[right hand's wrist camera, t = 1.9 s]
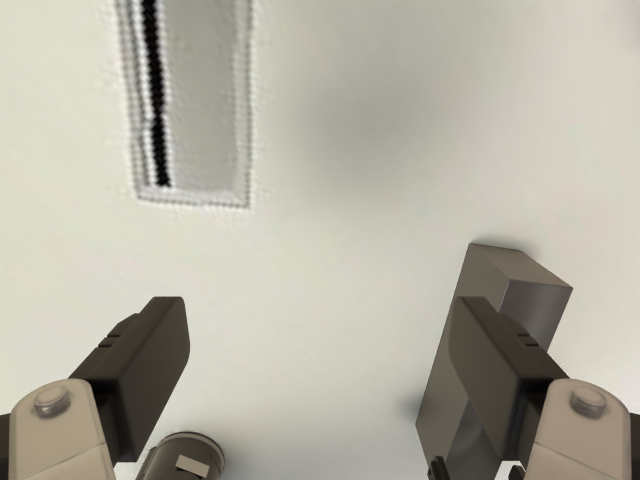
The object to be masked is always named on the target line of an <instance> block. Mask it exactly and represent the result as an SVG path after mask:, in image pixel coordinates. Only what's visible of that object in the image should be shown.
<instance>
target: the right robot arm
mask: <svg viewBox="0 0 640 480" xmlns="http://www.w3.org/2000/svg"><path fill="white" fill-rule="evenodd" d="M448 352H449V358H450V361H451V363H452V366H453V368H454V370H455V372H456V373H457V375H458V377H459V379H460V381H461V383H462V385H463V387H464V389H465V391H466V393H467V395H468V397H469V399H470V401H471V403H472V405H473V407H474V409H475V411H476V413H477V415H478V417H479V419H480V421H481V423H482V425H483V427H484V429H485V431H486V433H487V435H488V437H489V439H490V441H491V443H492V445H493V447H494V449H495V451H496V453H497V455H498V457H499V459H500V461H520V462H521V464H522V466H523V467H524V469H525V471H526V473H525V477H524V480H640V415H638V414H634V413H629V412H628V409H627V408H626V407H625V405H624V404H623V403H622V402H621V401H620V400H619V399H618V398H616V397H615V396H614V395H612V394H611V393H609V392H608V391H606V390H604V389H602V388H600V387H598V386H596V385H594V384H591V383H588V382H585V381H581V380H577V379H570V378H569V377H568V376H567V374H566V373H565V372H564V371H563V370H562V369H561V368H560V367H559V366H558V365H557V363H556V362H555V361H554V360H553V359H552V358H551V357H550V356H549V355H548V354H547V352H546V351H545V350H544V349H543V348H542V347H539V344H538V342H537V341H536V340H535V339H534V338H533V337H530V334H529V333H528V331H527V330H526V329H525V328H524V327H523V326H522V325H521V324H520V323H519V322H518V321H516V320H514V319H513V318H511V317H509V316H508V315H506V314H504V313H498V312H497V311H496V309H495V308H494V307H493V306H492V305H491V304H490V302H489V301H488V300H487V299H486V298H485V297H484V296H457V297H456V298H455V300H454V303H453V310H452V317H451V324H450V331H449V339H448ZM189 353H190V339H189V332H188V325H187V318H186V311H185V304H184V300H183V299H182V297H153V298H152V299H151V300H150V301H149V303H148V304H147V305H146V306H145V307H144V308H143V310H142V311H141V312H140V313H134V314H133V315H131V316H129V317H128V318H126V319H124V320H123V321H121V322H120V323H118V324H117V325H116V326H115V327H114V328H113V329H112V331H111V332H110V333H109V334H108V335H107V338H104V339H103V340H102V341H101V343H100V344H99V345H98V348H95V349H94V350H93V351H92V352H91V353H90V355H89V356H88V357H87V358H86V359H85V360H84V361H83V362H82V363H81V364H80V365H79V367H78V368H77V369H76V370H75V371H74V372H73V373H72V374H71V375H70V376H69V377H68V379H63V380H59V381H55V382H52V383H49V384H46V385H44V386H42V387H40V388H38V389H36V390H34V391H32V392H31V393H29V394H28V395H26V396H25V397H24V398H22V399H21V400H20V401H19V402H18V403H17V404H16V405H15V407H14V408H13V409H12V412H11V413H9V414H4V415H0V480H116V477H115V473H114V470H113V468H114V467H115V465H116V463H117V462H137V460H138V458H139V456H140V454H141V453H142V451H143V449H144V447H145V445H146V443H147V441H148V439H149V437H150V435H151V433H152V431H153V429H154V427H155V425H156V423H157V421H158V419H159V417H160V415H161V413H162V411H163V409H164V407H165V405H166V404H167V402H168V400H169V398H170V396H171V394H172V392H173V390H174V388H175V386H176V384H177V382H178V380H179V378H180V376H181V374H182V372H183V370H184V368H185V366H186V364H187V362H188V358H189Z"/></svg>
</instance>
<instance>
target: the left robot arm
mask: <svg viewBox="0 0 640 480" xmlns="http://www.w3.org/2000/svg"><path fill="white" fill-rule="evenodd" d="M223 467H224V457H223V454H222V452H221V450H220V448H219V447H218V446H217V445H216V444H215V443H214V442H213V441H211V440H210V439H208V438H206V437H204V436H201V435H198V434H193V433H179V434H174V435H171V436H169V437H167V438H165V439H164V440H162V441H161V442H160V443H159V445H158V446H157V448H154V449H151V450H150V451H149V453H148V455H147V457H146V459H145V461H144V463H143V465H142V467H141V469H140V471H139V473H138V475H137V477H136V479H135V480H219V479H220V476H221V473H222V470H223ZM525 473H526V472H525V471H524V470H523V468H522V467H521V466H517V465H513V466H512V469H511V471H510V473H509V476H508V478H509V480H524V477H525ZM427 475H428V478H429V480H450V477H449V474H448V471H447V468H446V465H445V462H444V459H443V457H442V456H436V455H435V456H434V459H433V461H431V463H430V466H429V469H428V474H427Z"/></svg>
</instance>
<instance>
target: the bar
mask: <svg viewBox="0 0 640 480" xmlns="http://www.w3.org/2000/svg"><path fill="white" fill-rule="evenodd" d="M572 290H573V287H571V286H570V285H568V284H567V283H565V282H564V281H563V280H561V279H560V278H558V277H557V276H556V275H554V274H553V273H551V272H550V271H548V270H547V269H546V268H544V267H543V266H541V265H540V264H539V263H537V262H536V261H534V260H533V259H531V258H530V257H529V256H527V255H526V254H524V253H523V252H522V251H519V250H512V249H505V248H498V247H491V246H484V245H477V244H469V247H468V250H467V254H466V257H465V260H464V264H463V267H462V271H461V274H460V277H459V281H458V284H457V287H456V291H455V294H454V297H453V301H452V304H451V307H450V311H449V314H448V317H447V321H446V324H445V327H444V331H443V334H442V337H441V341H440V344H439V347H438V351H437V354H436V358H435V361H434V364H433V368H432V371H431V374H430V378H429V381H428V384H427V388H426V391H425V394H424V398H423V401H422V404H421V408H420V411H419V414H418V418H417V421H416V424H415V425H416V428H417V431H418V435H419V438H420V441H421V445H422V448H423V451H424V454H425V458H426V461H427V464H428V467H429V466H430V463H431V461H433V459H434V456H435V455H436V456H442V457H443V459H444V462H445V465H446V468H447V471H448V474H449V477H450V480H494V479H495V477H496V474H497V472H498V469H499V467H500V465H501V462H502V461H500V459H499V457H498V455H497V453H496V451H495V449H494V447H493V445H492V443H491V441H490V439H489V437H488V435H487V433H486V431H485V429H484V427H483V425H482V423H481V421H480V419H479V417H478V415H477V413H476V411H475V409H474V407H473V405H472V403H471V401H470V399H469V397H468V395H467V393H466V391H465V389H464V387H463V385H462V383H461V381H460V379H459V377H458V375H457V373H456V372H455V370H454V368H453V366H452V363H451V361H450V358H449V352H448V339H449V331H450V324H451V317H452V310H453V303H454V300H455V298H456V297H457V296H484V297H485V298H486V299H487V300H488V301H489V302H490V304H491V305H492V306H493V307H494V308H495V309H496V311H497V312H498V313H504V314H506V315H508V316H509V317H511V318H513V319H514V320H516V321H518V322H519V323H520V324H521V325H522V326H523V327H524V328H525V329H526V330H527V331H528V333H529V334H530V337H533V338H534V339H535V340H536V341H537V342H538V344H539V347H542V348H543V349H544V350H545V351H546V352H547V351H548V348H549V346H550V343H551V341H552V339H553V336H554V334H555V331H556V329H557V326H558V324H559V322H560V319H561V317H562V314H563V312H564V310H565V307H566V305H567V302H568V300H569V297H570V295H571V293H572Z"/></svg>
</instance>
